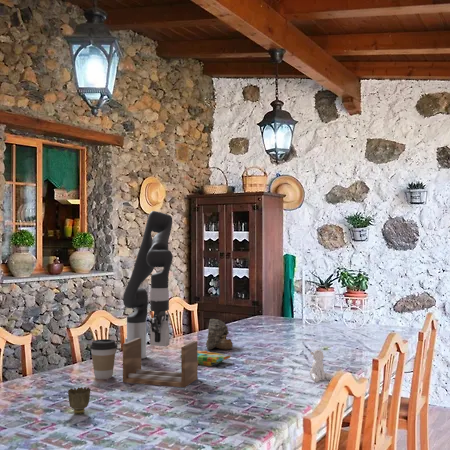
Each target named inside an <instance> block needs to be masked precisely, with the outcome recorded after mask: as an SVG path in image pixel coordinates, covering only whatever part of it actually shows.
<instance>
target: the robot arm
mask: <svg viewBox="0 0 450 450" xmlns="http://www.w3.org/2000/svg"><path fill="white" fill-rule="evenodd" d="M172 226H173V216H171V215H170V214H169V213H164V212H160V211H155V210H152V211H150V213H149V214H148V217H147V220H146V224H145V229H144V233H143V236H142V241H141V244H140V247H139V250H138V252H137V256H136V258H135V261H134V262H135V263H134V265H133V269H132V271H131V276H130V279H129V280H128V283H127V285H126V287H125V290H124V293H123V296H122V303H123V306H124V307H125V308H127V309H135V310H134V311H133V312H132V313H130V314H128V315H127V316H126V337H125V338H124V343H126V342H128V341H131V340H134V339H136V338H141V360H142V359H145V358H147V317H148V307H150V311H151V312H153V318H151V317H150V319H149V322H150V329H151V328H152V332H154V333H155V342H160V331H161V327H162V322H163V321H168V322H169V317H170V316H169V315H170V314H169V313H167V312H168V311H169V310H170V292H169V274H170V270H171V266H172V263H173V259H174V257H173V252H171V250H169V241H170V240H169V239H170V236H171V231H172ZM152 232H153V233H157V234H155V235H154V236H153V238H152ZM155 268H163V270H162V271H159V272H155V273H154V272H153V271H154V269H155ZM150 275H151V276H150ZM149 276H150V293H149V294H150V302H149V295H148V292H147V290H146V289H145V288H143V287H140V286H141V285H142V283H143V282H144V281H145V280H147V278H149ZM149 303H150V305H149ZM148 305H149V306H148ZM158 324H160V325H158ZM158 327H159V329H158Z"/></svg>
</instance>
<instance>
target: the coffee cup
mask: <svg viewBox="0 0 450 450" xmlns="http://www.w3.org/2000/svg"><path fill="white" fill-rule="evenodd" d="M117 348H118V344H117V343H116V341H115V340H114V339H107V338H105V339H95V340H92V342H91V344H90V345H89V349H90V352H91V359H92V366H93V368H92V369H93V374H94V375H93V376H94V379H97V380H108V379H111V378H113V374H114V367H115V359H116V352H117Z"/></svg>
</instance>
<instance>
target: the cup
mask: <svg viewBox="0 0 450 450" xmlns="http://www.w3.org/2000/svg"><path fill="white" fill-rule="evenodd" d="M67 390H68V391H67V394H68V395H67V396H68V403H69V406H70V408H71V409H72V410H73V414H75V415H83V414H85V411H86V410H85V409H86V408H87V407H88V406H89V404H90V400H91V399H90V397H91V388H90V387H86V386H84V387H82V386H81V387H80V386H78V387H77V389H76V387H74V388H69V389H67Z"/></svg>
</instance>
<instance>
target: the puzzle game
mask: <svg viewBox="0 0 450 450" xmlns="http://www.w3.org/2000/svg"><path fill="white" fill-rule="evenodd" d="M228 359H231V354H224V353H218V352H211V351H207V350H199V349H197V360H198V365H201V366H208V367H212V366H215V365H218V364H220V363H223V362H224V361H225V360H228Z"/></svg>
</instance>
